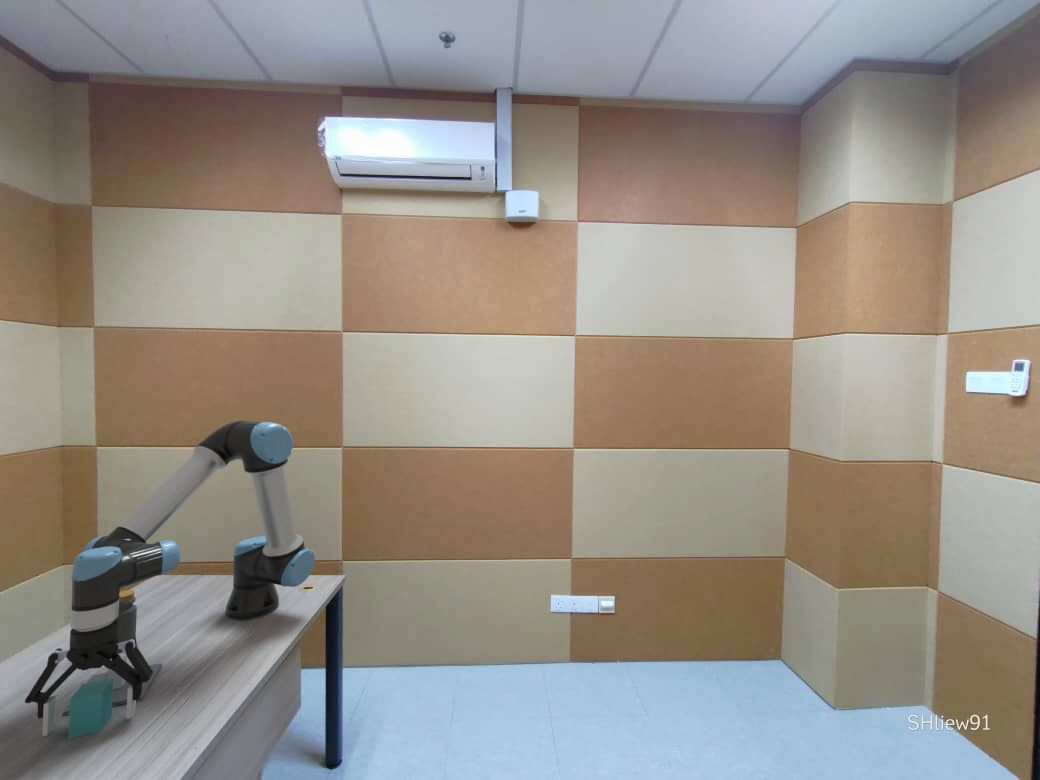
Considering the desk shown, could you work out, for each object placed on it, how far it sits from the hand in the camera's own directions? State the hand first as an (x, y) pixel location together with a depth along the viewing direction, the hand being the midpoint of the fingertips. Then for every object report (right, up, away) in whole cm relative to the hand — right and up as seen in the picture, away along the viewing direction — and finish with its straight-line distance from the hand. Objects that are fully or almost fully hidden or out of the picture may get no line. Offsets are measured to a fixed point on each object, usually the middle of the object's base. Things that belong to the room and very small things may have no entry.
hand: (90, 722), depth 96 cm
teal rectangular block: (0, -1, 0) cm, 1 cm away
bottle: (-19, -1, +29) cm, 35 cm away
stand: (-5, -1, +12) cm, 13 cm away
